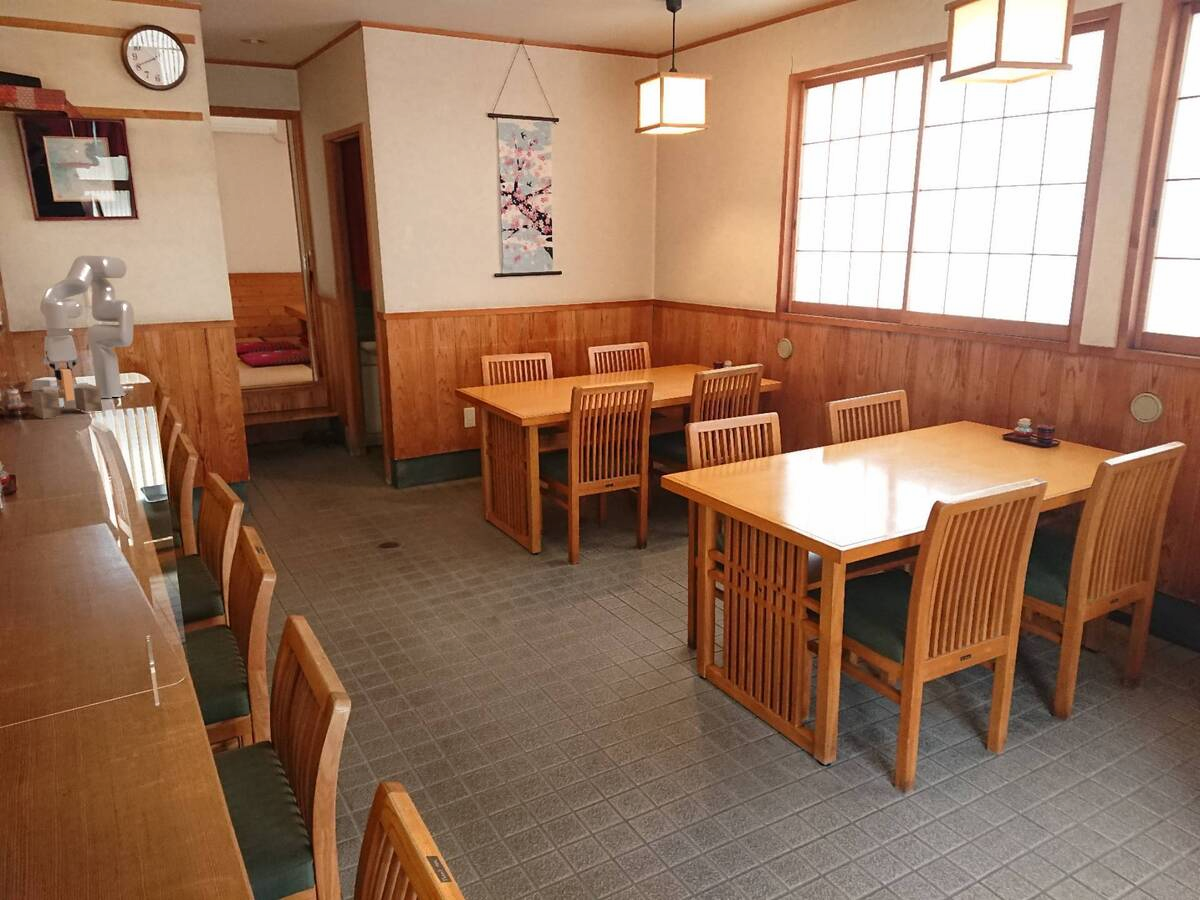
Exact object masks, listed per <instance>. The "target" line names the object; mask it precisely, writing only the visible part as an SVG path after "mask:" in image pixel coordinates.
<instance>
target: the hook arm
mask: <svg viewBox="0 0 1200 900" xmlns="http://www.w3.org/2000/svg"><path fill="white" fill-rule="evenodd" d="M89 384H90V383H89V382H80V383H73V388H83V387H89ZM55 390H64V386H63V385H58V386H48V387H42V391H43V392H46V391H55Z"/></svg>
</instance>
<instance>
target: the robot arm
mask: <svg viewBox="0 0 1200 900" xmlns="http://www.w3.org/2000/svg"><path fill="white" fill-rule="evenodd" d="M126 274H127V265H126V263H125V261H124V260H123V259H121V258H119V257H111V256H105V255H80V256H77V257H76V258H75V259H74V260H73V263H72V265H71V266H70V269H69V272H68V273H67V275H66V277H65V278H64V279H62V280H60V281H59V282H57V283H55V284H52V286H51V287H49V288H48V289H47V290H46V291H45V293H44V295H43V296H42V298H41V302H40V307H39V308H40V312H41V314H42V315H43V316H44V320H45V326H46V327H45V328H46V334H47V335H46V336H44V341H43V342H44V359H43V362H42V364H44V365H45V366H48V367H50V368H52V370H54V377H56V378H57V379H58V380H62V378H61V372H60V370H59V368H60V366H59V363H63V362H65V363H66V365H65V366H66V369H69V370H71V372H72V377H73V369H74V367H75V366H76V365H77V364H78V363H80V362H81V361H82V359H81V358H80V357H79V356H78V353H77V348H76V345H75V341H74V338H73V336H72V335H71V333H74V329H73V328H70V325H69V324H70V323H69V319H77V318H80V317H81V315H82V314H83V313H84V306H83V304H82V302H81V301H79V300H78V299H74V298H71V297H74V296H78V295H80V294H84V293H86V292H87V291H88V290H89V288H90V286H91V295H92V296H91V315H92V318H93V319H94V320H95V321H97V322H101V324H98V323H97V324H93V325H91V326H89V327H88V328H87V330H86V337H87V341H88V343H89V347H90V351H91V357H92V366H93V372H94V373H93V374H94V380H95V386H96V387H99V388H100V395H101V398H109V399H111V398H110V397H119V398H122V397H121V396H123V397H125V396H126V395H127V394H126V391H134V387H133V385H123V384H121V376H120V367H119V366H120V365H119V358H118V355H117V353H116V351H115V350H114V349H113V348H114V347H115V348H116V347H117V348H126V347H127V348H128V347H130V346H131V345H132V343H133V340H134V323H135V322H134V316H135V314H134V308H133V305H132V303H130V302H129V301H127V300H123V299H122V300H121V299H115V298H116V297H115V296H116V295H115V293H116V291H115V287H114V286H113V284H112V282H110V281H109V279H121V278H123V277H125V275H126ZM102 322H104V324H102ZM105 323H106V324H105ZM107 323H118V324H107Z"/></svg>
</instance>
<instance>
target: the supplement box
mask: <svg viewBox="0 0 1200 900" xmlns="http://www.w3.org/2000/svg"><path fill="white" fill-rule="evenodd" d="M48 386H57V380H56V377H55V376H54V377H51V376H50V377H49V376H47V377H46V376H45V377H44V376H43V377H40V378H36V379H32V390H39V389H42V387H48ZM55 391H56V392H58V390H55ZM58 397H59V396H58ZM59 405H60V407H63V406H64V407H65V399H64V398H59Z"/></svg>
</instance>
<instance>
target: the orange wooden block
mask: <svg viewBox="0 0 1200 900" xmlns="http://www.w3.org/2000/svg"><path fill="white" fill-rule="evenodd" d="M66 368H67V367H66ZM66 368H65V367H59V370H60V372H61V378H62V380H58V379H57V378H56V380H57V386H58V385H63V386H64V390H58V396H59V398H63V399H64V402H65V401H66V402H68V401H75V393H74V388H73V384H74V380H73V376H72V374H73V371H72V372H71V370H69V369H66Z"/></svg>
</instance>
